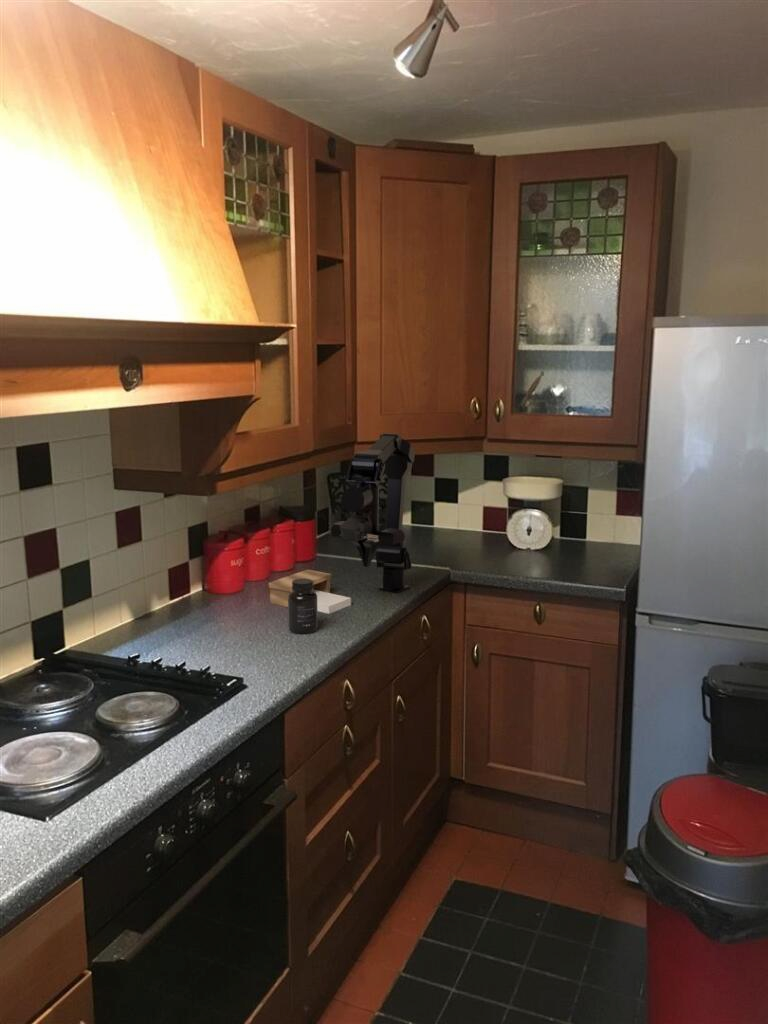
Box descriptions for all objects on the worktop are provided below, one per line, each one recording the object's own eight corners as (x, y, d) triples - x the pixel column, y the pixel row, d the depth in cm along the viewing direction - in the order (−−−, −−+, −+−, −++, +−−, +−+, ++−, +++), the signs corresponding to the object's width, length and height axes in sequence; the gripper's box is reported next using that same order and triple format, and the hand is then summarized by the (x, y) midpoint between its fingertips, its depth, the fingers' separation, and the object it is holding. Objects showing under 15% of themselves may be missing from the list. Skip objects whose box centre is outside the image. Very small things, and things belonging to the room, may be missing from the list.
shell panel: (303, 595, 232) (303, 587, 231) (350, 606, 223) (350, 597, 222) (281, 604, 224) (280, 595, 224) (328, 615, 215) (328, 606, 215)
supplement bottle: (285, 627, 205) (284, 578, 203) (313, 624, 207) (312, 575, 205) (292, 636, 199) (292, 586, 196) (321, 633, 201) (320, 583, 199)
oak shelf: (307, 589, 236) (307, 569, 235) (331, 594, 232) (331, 574, 230) (269, 603, 223) (268, 582, 222) (293, 609, 218) (292, 587, 217)
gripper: (316, 505, 209) (316, 567, 212) (380, 514, 199) (380, 579, 202) (343, 498, 218) (343, 558, 221) (406, 507, 208) (405, 569, 211)
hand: (366, 566), depth 213 cm, fingers closed
